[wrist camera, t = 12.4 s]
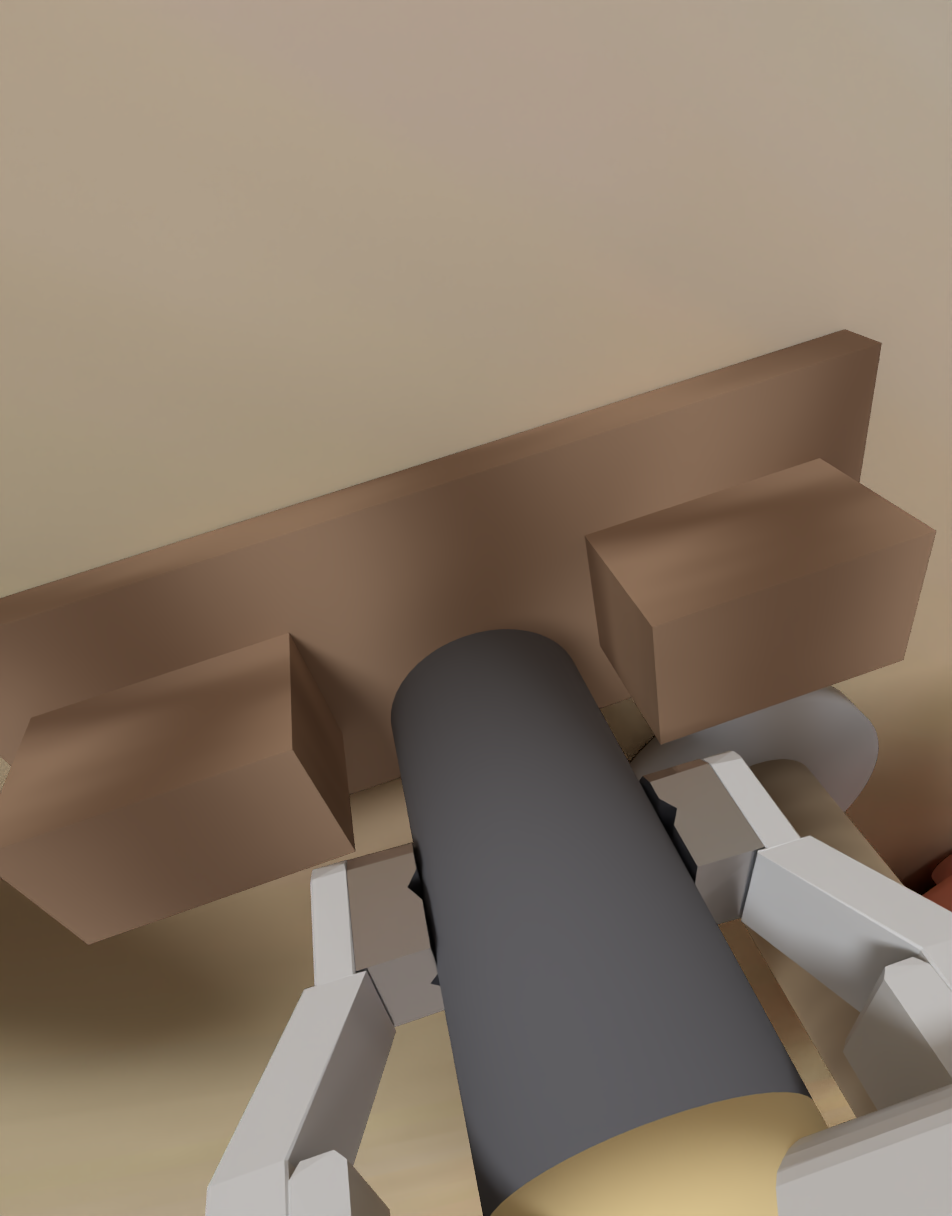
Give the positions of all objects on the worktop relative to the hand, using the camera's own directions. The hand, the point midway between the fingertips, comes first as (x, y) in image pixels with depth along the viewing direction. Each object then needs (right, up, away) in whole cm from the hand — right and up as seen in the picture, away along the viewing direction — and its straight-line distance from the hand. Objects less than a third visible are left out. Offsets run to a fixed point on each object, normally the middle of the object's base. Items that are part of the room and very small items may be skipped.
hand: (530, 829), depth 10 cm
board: (-1, +3, +4) cm, 6 cm away
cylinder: (-1, +2, +2) cm, 3 cm away
